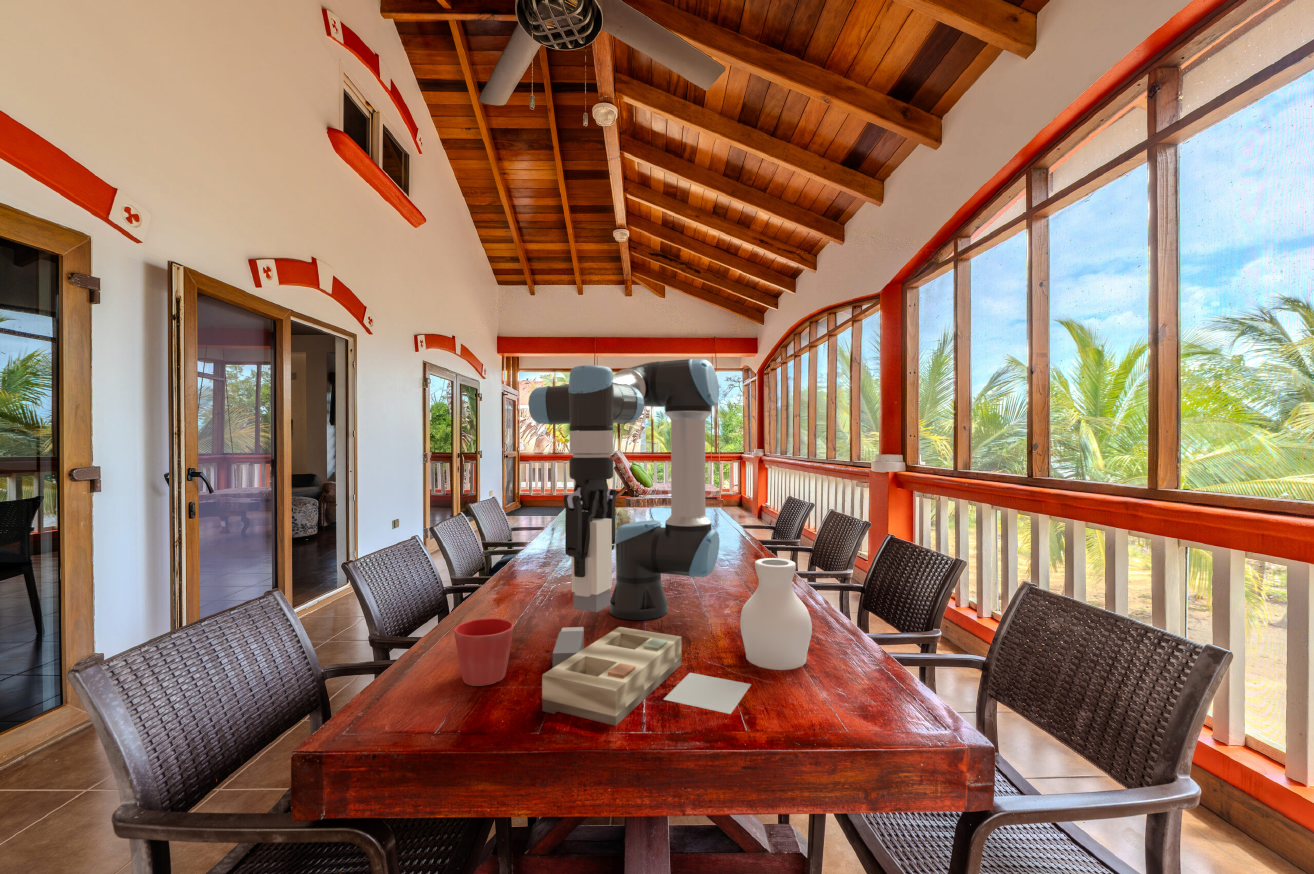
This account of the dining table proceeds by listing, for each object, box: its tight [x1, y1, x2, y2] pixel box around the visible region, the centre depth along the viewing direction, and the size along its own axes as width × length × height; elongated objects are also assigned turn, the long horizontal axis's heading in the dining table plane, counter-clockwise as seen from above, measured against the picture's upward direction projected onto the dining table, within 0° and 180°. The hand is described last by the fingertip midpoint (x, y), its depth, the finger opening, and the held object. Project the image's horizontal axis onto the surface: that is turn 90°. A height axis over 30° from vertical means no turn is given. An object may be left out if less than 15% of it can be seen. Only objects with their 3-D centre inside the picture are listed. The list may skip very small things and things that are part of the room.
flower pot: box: [453, 618, 515, 687], centre depth 106 cm, size 11×11×10 cm
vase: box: [740, 557, 813, 671], centre depth 114 cm, size 14×14×20 cm
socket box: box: [541, 626, 682, 727], centre depth 102 cm, size 26×14×6 cm, turn 154°
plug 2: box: [571, 518, 613, 613], centre depth 97 cm, size 5×5×15 cm
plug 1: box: [552, 626, 585, 668], centre depth 113 cm, size 15×5×5 cm, turn 4°
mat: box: [663, 672, 752, 715], centre depth 99 cm, size 12×12×1 cm
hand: (591, 590), depth 97 cm, fingers closed on plug 2, 5 cm apart
